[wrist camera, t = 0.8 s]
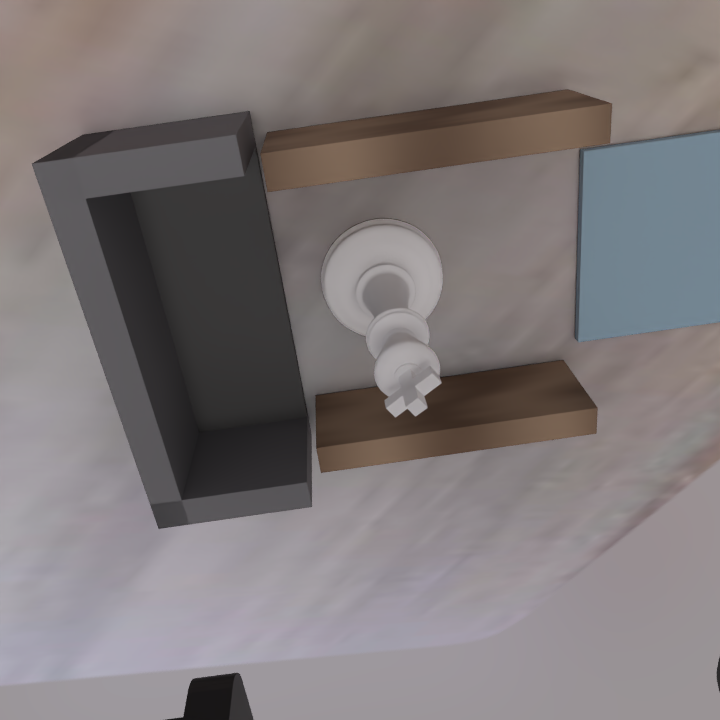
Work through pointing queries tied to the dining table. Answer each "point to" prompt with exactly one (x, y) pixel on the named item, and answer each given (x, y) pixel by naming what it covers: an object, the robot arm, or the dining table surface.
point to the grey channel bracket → (187, 312)
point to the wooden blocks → (461, 392)
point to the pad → (648, 236)
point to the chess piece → (388, 304)
